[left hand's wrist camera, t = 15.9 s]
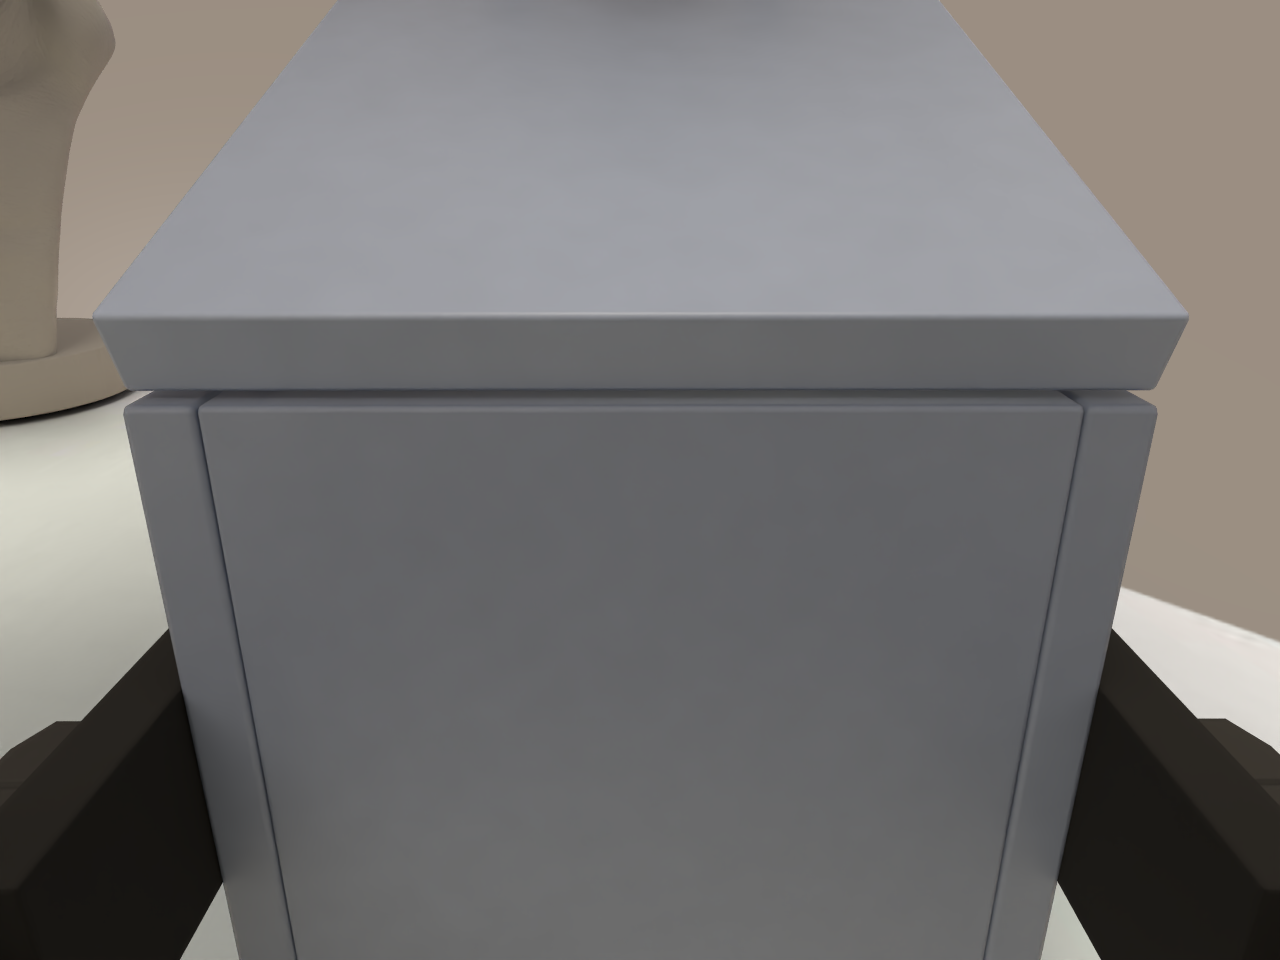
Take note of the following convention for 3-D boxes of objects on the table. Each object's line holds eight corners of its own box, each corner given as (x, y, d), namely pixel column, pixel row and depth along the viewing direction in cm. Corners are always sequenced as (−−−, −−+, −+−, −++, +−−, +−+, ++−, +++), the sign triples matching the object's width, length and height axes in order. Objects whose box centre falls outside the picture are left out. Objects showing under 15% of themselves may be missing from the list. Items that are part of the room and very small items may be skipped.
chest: (468, 606, 27) (439, 233, 23) (807, 606, 27) (835, 233, 23) (277, 1152, 12) (117, 407, 9) (1002, 1150, 12) (1164, 406, 9)
